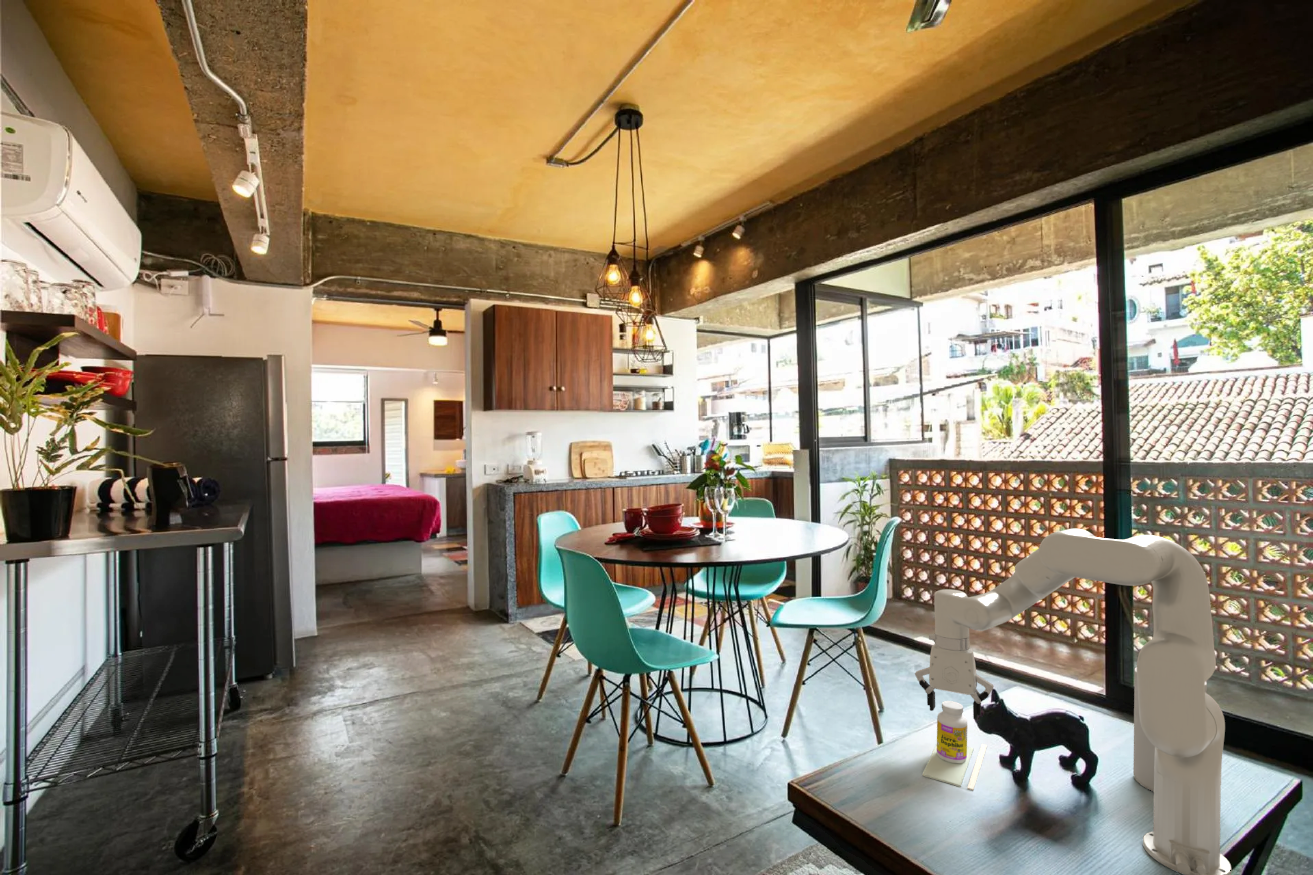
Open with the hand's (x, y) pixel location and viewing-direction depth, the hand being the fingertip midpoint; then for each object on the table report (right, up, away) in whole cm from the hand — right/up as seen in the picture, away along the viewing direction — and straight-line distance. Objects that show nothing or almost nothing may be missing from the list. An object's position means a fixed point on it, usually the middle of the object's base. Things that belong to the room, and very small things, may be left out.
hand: (953, 713), depth 152 cm
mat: (-2, -11, -1) cm, 11 cm away
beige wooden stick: (+4, -11, -3) cm, 13 cm away
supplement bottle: (0, -11, +1) cm, 11 cm away
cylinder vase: (+43, -12, -11) cm, 46 cm away
